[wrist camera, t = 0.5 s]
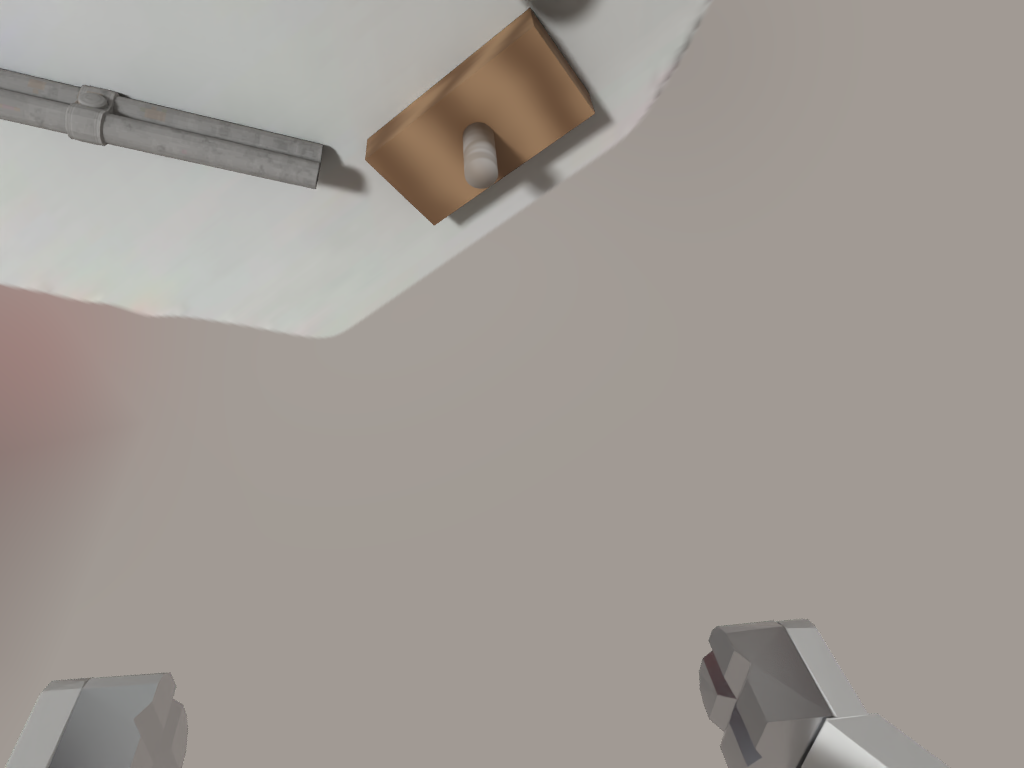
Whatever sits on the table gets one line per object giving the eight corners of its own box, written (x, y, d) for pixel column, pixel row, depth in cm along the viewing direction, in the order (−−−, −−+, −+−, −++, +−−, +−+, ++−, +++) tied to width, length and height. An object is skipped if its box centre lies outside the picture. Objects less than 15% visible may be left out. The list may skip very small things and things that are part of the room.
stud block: (529, 7, 48) (541, 59, 43) (589, 93, 53) (605, 149, 48) (367, 139, 55) (360, 198, 50) (434, 204, 60) (434, 263, 55)
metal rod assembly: (324, 134, 55) (318, 169, 51) (321, 164, 57) (314, 200, 53) (-57, 41, 47) (-93, 76, 44) (-46, 79, 49) (-80, 115, 46)
